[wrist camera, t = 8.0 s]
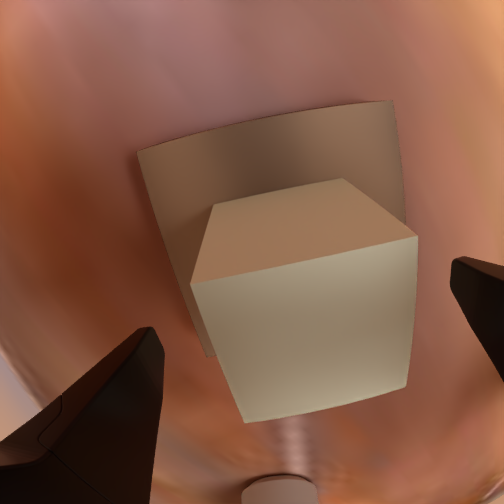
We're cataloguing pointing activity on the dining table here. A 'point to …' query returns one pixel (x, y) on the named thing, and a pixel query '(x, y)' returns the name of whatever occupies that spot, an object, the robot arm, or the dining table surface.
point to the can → (280, 491)
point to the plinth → (267, 172)
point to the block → (307, 298)
